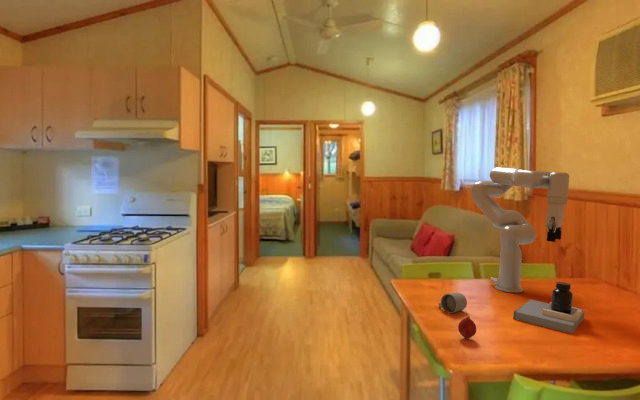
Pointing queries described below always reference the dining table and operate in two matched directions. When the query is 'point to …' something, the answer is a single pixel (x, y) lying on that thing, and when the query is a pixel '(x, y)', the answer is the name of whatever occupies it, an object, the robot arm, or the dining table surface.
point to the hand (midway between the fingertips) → (553, 240)
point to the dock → (549, 316)
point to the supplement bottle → (562, 298)
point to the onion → (467, 328)
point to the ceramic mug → (453, 302)
